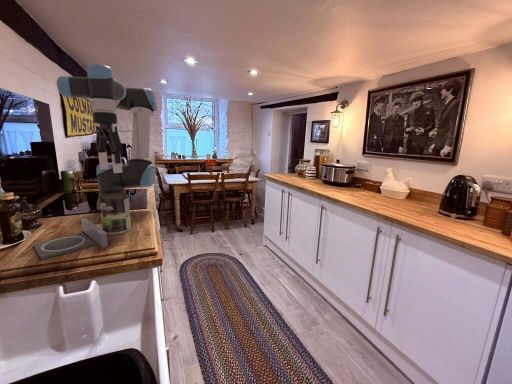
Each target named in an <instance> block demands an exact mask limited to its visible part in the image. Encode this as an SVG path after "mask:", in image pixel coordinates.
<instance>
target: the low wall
mask: <svg viewBox="0 0 512 384" xmlns="http://www.w3.org/2000/svg"><path fill="white" fill-rule="evenodd" d="M80 221H81V226H82V231H83V233H85V234H86V236H87V237H88V238H90V239H92V240H93V242H94V243H96V244H98V245H99V246H100V247H101V248H103V249H104V248H107V247H109V245H108V244H109V243H108V236H107V235H108V234H106V232H105V231H103V230H102V228H101V227H99V226H97V225H96V224H95V223H93V222H92V221H91V220H89V219H88V218H86V217H84V218H81V219H80Z"/></svg>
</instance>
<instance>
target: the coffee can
mask: <svg viewBox="0 0 512 384" xmlns="http://www.w3.org/2000/svg"><path fill="white" fill-rule="evenodd" d="M129 196H130V195H129V194H128V193H108V194H103V195H100V196H99V195H98V197H97V200H98V199H99V204H100V219H101V229H102V230H103V231H105V232H106V235H118V234H119V235H120V234H123V233H126V232H129V231H130V230H132V222H131V213H130V212H131V211H130V207H129V201H130V199H129Z"/></svg>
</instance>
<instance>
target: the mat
mask: <svg viewBox="0 0 512 384" xmlns="http://www.w3.org/2000/svg"><path fill="white" fill-rule="evenodd" d="M95 245H96V244H95V241H92V240H91V238H90V237H89V236H88V235H85V234H84V232H78V233H74V234H70V235H67V236H66V235H65V236H62V237H58V238H53V239H49V240H45V241H40V242H36V243H33V244H32V246H33V248H34V249H35V251H36V252H37V254H38V256H39V258H40V259H41V260H42V261H43V260H47V259H50V258H54V257H58V256H61V255H65V254H68V253H72V252H76V251H80V250H83V249H86V248H91V247H93V246H94V247H95Z"/></svg>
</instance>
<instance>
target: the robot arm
mask: <svg viewBox="0 0 512 384" xmlns="http://www.w3.org/2000/svg"><path fill="white" fill-rule="evenodd" d="M86 69H87V75H86V76H71V75H66V76H65V75H61V76H58V77H57V79H56V87H57V88H56V89H57V91H58V92H59V94H60V95H61V96H62V97H64V98H71V99H73V98H74V99H77V98H78V99H82V100H88V101H89V104H90V105H91V110H92V111H93V112H92V121H93V123H94V124H98V125H99V126H95V131H96V133H95V134H96V135H95V137H96V138H95V151H97V153H98V161H99V164H98V165H97V166H96V178H97V186H98V197H99V196H100V195H103V194H108V193H126V188H150V187H152V186H153V185H154V183H155V179H156V177H157V176H156V172H157V171H156V166H155V164H153V162H152V160H151V159H150V141H151V139H150V138H151V137H150V136H151V135H150V134H151V118H152V117H153V116H154V112H157V111H158V104H157V103H158V102H157V99H156V98H157V97H156V94H155V92H154V91H153V89H151V88H148V87H147V88H146V87H127V86H125V85H124V84H123V83H122V82H121V81H120V80H118V79H116V78H114V74H113V69H112V68H111V67H110V66H107V65H103V64H97V63H96V64H95V63H93V64H88V66H87V68H86ZM118 109H119V110H123V111H129V112H130V114H131V115H132V126H131V127H132V128H131V148H130V149H131V151H130V154H131V155H130V158H129V159H128V160H127V164H124V163H123V162H122V157H121V155H122V154H123V153H124V150H123V145H122V142H121V139H120V135H119V131H118V127H117V125H116V124H118V115H117V110H118ZM107 145H109V148H110V151H111V153H110V155H111V162H108V150H107ZM130 207H131V200H129V208H130ZM96 210H97V211H100V204H99V199H98V198H97V201H96Z"/></svg>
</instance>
